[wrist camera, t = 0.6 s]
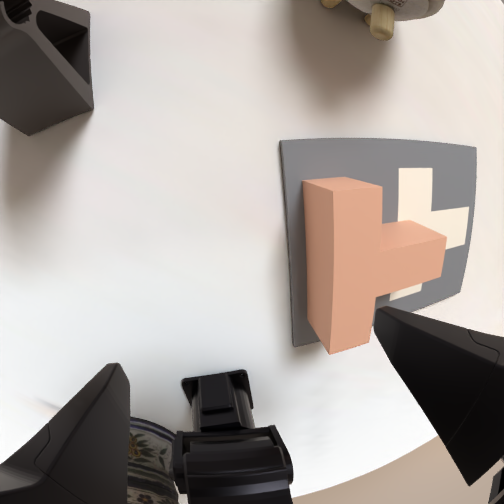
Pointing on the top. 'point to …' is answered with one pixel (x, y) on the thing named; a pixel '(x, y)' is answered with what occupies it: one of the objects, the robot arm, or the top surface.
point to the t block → (358, 258)
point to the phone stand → (43, 63)
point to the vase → (150, 464)
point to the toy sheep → (390, 12)
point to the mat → (386, 206)
